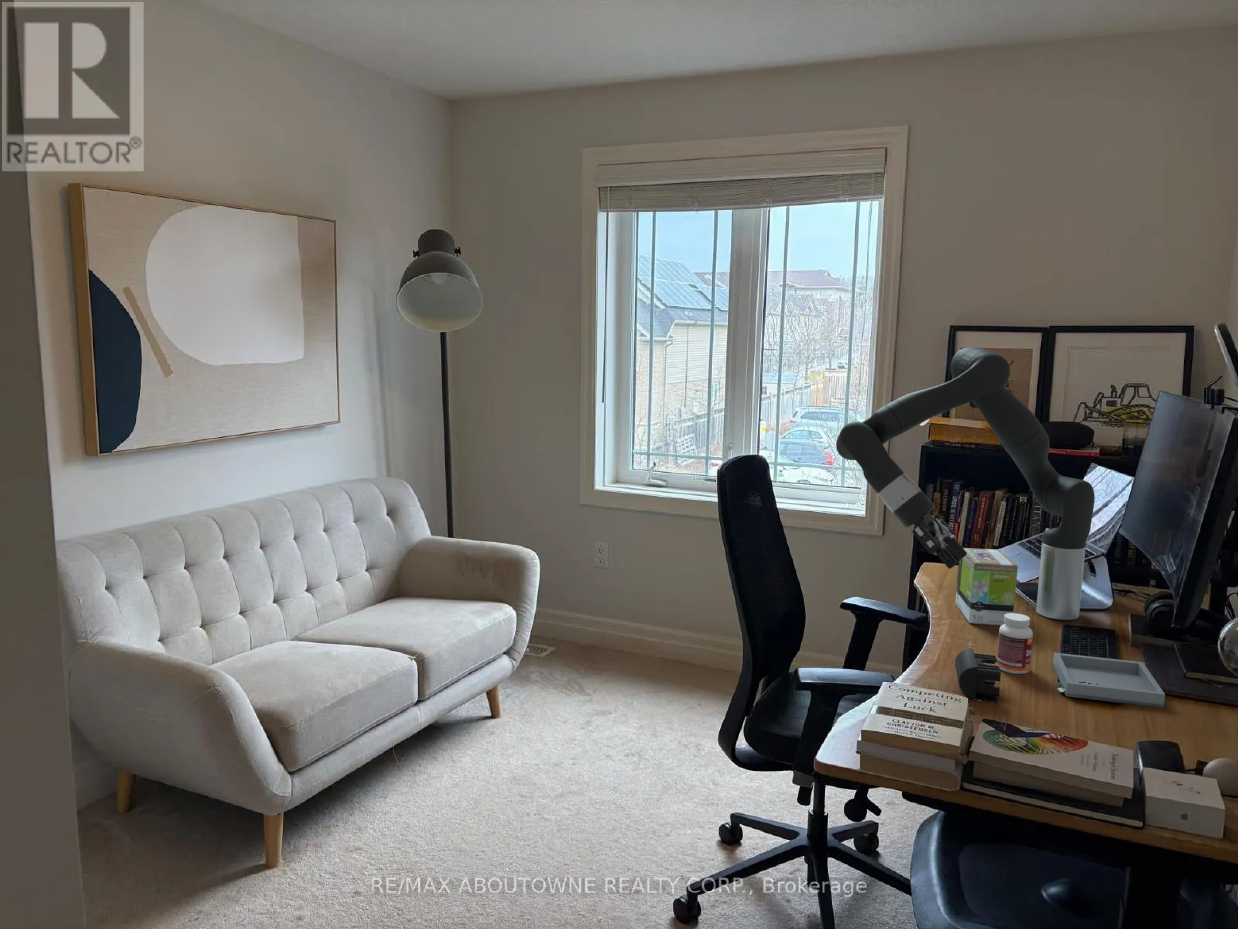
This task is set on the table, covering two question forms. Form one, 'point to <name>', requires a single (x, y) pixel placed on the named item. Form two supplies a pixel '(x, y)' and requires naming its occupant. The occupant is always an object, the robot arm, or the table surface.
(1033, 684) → the table surface
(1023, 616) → the pill bottle
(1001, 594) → the tea box
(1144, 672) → the tray
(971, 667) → the end cap
